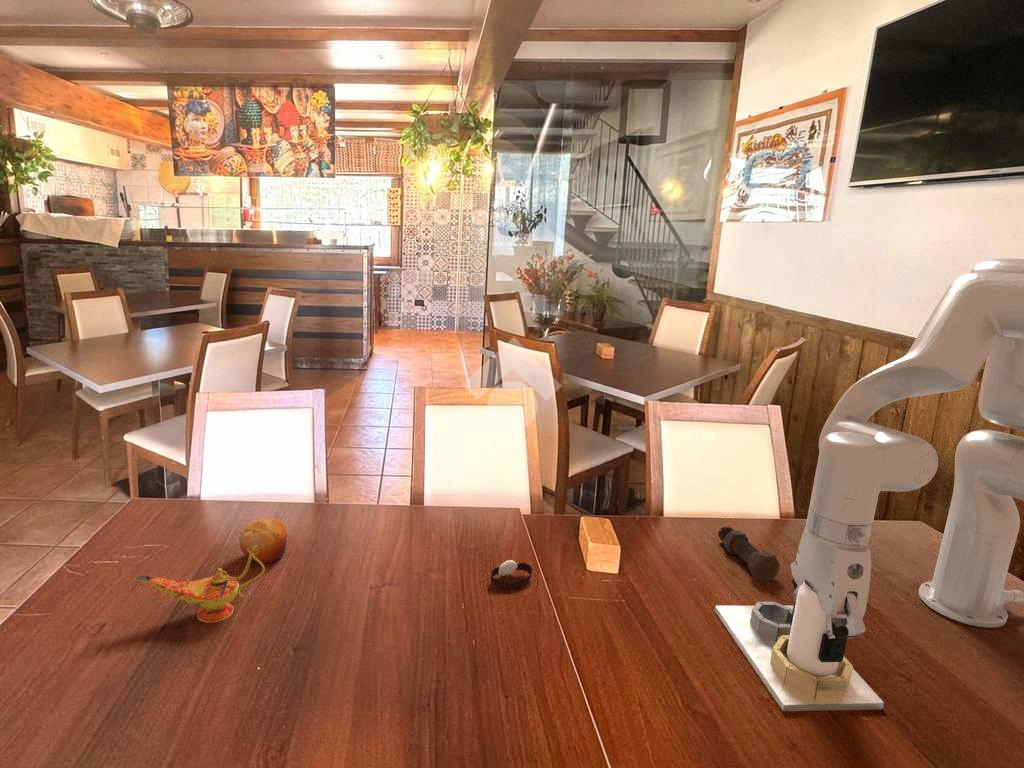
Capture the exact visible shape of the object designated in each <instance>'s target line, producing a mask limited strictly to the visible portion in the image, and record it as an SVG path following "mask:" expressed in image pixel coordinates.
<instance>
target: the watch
mask: <svg viewBox="0 0 1024 768" xmlns="http://www.w3.org/2000/svg"><path fill="white" fill-rule="evenodd" d="M532 567H533V566H531V565H530V564H529V563H526V562H515V561H514V560H512V559H508V560H506V561H504V562H503V563H501V564H500V566H498V567H495V568H493V569H492V570H491V572H490V582H491V584H492V585H493V587H496V588H499V589H514V588H519V587H520V585H521V586H523V585H522V584H524V585H526V584H527V583H529V582H530V580H531V577H532V574H533V568H532ZM515 571H524V572H526V573H528V574H529V575H528V576H526V577H522V578H520V579H515V580H510V581H508V580H506V581H505V580H504V581H503V580H500V579H497V578H496V577H494V576H497V575H500V576H504V577H506V576H505V575H507V576H510V575H512V574H513V573H514V572H515ZM509 574H510V575H509ZM528 581H529V582H528ZM525 583H526V584H525ZM518 586H519V587H518ZM511 587H512V588H511ZM513 587H514V588H513Z"/></svg>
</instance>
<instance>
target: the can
mask: <svg viewBox="0 0 1024 768" xmlns="http://www.w3.org/2000/svg"><path fill="white" fill-rule="evenodd" d="M817 594H818V593H817V592H815V591H813V590H812V589H811V588H810V587H809V586H808V585H807V584H806V583H805V580H804V583H803V584H802V585H801V586H800V587H799V590H798V595H797V600H796V601H795V602H796V605H795V610H794V616H793V621H792V626H791V632H790V637H789V643H788V649H787V655H788V657H789V659H790V661H791V662H792V663H793V664H794V665H795V666H796V667H797V668H798V669H800V670H803V671H805V672H807V673H809V674H811V675H814V676H821V677H824V676H829V675H832V674H834V673H835V672H836V671H837V668H838V663H839V662H821V661H820V660H819V659H818V655H819V650H820V645H821V640H822V635H823V634H824V633H826V634H827V630H826V614H825V613H824V612H823V611H822V610H821V606H820V603H819V600H818V596H817ZM844 612H845V608H842V609H841V611H840V612H837V613H844ZM840 626H842V619H835V628H837V627H840Z"/></svg>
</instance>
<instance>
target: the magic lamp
mask: <svg viewBox="0 0 1024 768" xmlns="http://www.w3.org/2000/svg"><path fill="white" fill-rule="evenodd" d="M256 547H257V545H256V546H254V547H249V548H253V549H252V551H251V552H250V551H249V548H248V549H247V550H248V552H249V553H250V554H249V557H251V558H249V557H247V561H246V564H245V568H244V569H243V572H242V573H241V574H240V575H238V576H231V575H229V574H228V573H227V572H226V570H224V569H222V568H221V567H219V568H217V569H216V572H215V574H214V575H212V576H210V577H206V578H201V579H196V580H190V581H189V580H188V581H187V580H186V581H179V580H178V581H177V580H172V579H167V578H164V577H163V578H162V577H159V576H152V575H140V576H137V577H135V578H134V581H135V582H140V583H143V584H146V585H149V586H151V587H153V588H155V589H156V590H158V591H160V592H161V593H163V594H165V595H166V596H169V597H172V598H174V599H176V600H179V601H181V602H184V603H188V604H190V605H192V606H195V607H198V608H201V609H199V611H198V612H197V615H196V618H197V620H199V621H200V622H202V623H207V624H208V623H209V624H210V623H211V624H212V623H217V622H221V621H224V620H226V619H227V618H229V617H230V616H232V614H233V613H234V610H235V608H234V605H232V604H231V603H230V602H232V601H233V600H234V599H235V598H236V597H237V595H238V596H240V597H242V598H246V597H249V595H250V591H249V590H247V592H248V594H247V595H242V593H241V592H240V591H241V589H242V588H244V587H245V586H247V585H249V584H250V583H251V582H253V581H255V580H257V579H258V578H260V577H261V576H263V574H264V573H265V571H266V567H265V565H264V564H263V563H262V562H261V561H260V560H258V559H257V558H256V557H255V556H254V555H255V554H258V549H257V548H256ZM255 549H256V550H257V553H253V552H254V550H255ZM252 558H254V559H255V560H256V561H255V562H257V563H258V564H259V565H260V566H261V567H262V571H261V572H260V573H259V574H258V575H257V576H255V577H253V578H251V579H249V580H247V581H246V582H244V583H243V584H241V585H240V583H239V581H241V580H242V579H243V578H244V577H245V576H246V574H247V573H248V570H249V568H250V565H251V562H252V560H251V559H252Z"/></svg>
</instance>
